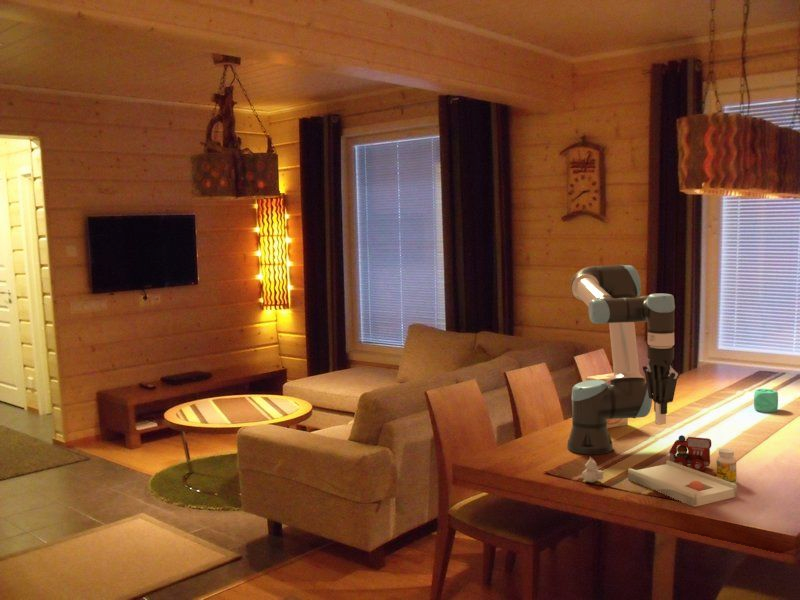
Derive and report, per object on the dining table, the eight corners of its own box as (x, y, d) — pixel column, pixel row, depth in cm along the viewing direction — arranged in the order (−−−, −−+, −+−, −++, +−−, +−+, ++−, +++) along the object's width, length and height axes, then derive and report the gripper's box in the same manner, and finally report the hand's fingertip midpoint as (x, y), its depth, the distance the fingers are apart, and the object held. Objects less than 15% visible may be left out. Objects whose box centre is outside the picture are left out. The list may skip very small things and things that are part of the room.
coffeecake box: (597, 430, 287) (596, 379, 286) (585, 426, 294) (584, 376, 292) (628, 424, 293) (628, 375, 292) (616, 421, 300) (616, 372, 298)
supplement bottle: (740, 483, 224) (740, 451, 223) (727, 486, 222) (727, 454, 221) (725, 478, 229) (725, 447, 228) (712, 481, 227) (712, 449, 226)
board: (628, 480, 231) (628, 468, 230) (668, 471, 237) (668, 460, 237) (694, 507, 207) (693, 494, 207) (736, 496, 214) (736, 484, 213)
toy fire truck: (672, 462, 246) (672, 431, 245) (713, 468, 239) (713, 435, 238) (667, 468, 240) (667, 436, 239) (709, 474, 233) (709, 441, 232)
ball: (684, 481, 218) (694, 482, 214) (694, 479, 219) (705, 479, 216) (687, 496, 217) (697, 496, 213) (697, 493, 219) (708, 493, 215)
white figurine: (585, 477, 234) (585, 452, 234) (606, 481, 231) (606, 455, 230) (579, 483, 230) (579, 457, 229) (601, 486, 226) (600, 460, 226)
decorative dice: (775, 413, 302) (776, 393, 302) (753, 411, 307) (753, 392, 306) (778, 409, 309) (778, 389, 308) (756, 407, 313) (756, 388, 313)
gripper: (635, 344, 230) (635, 420, 232) (667, 350, 218) (667, 431, 221) (654, 341, 233) (654, 416, 236) (687, 348, 221) (686, 427, 224)
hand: (660, 423), depth 228 cm, fingers closed
